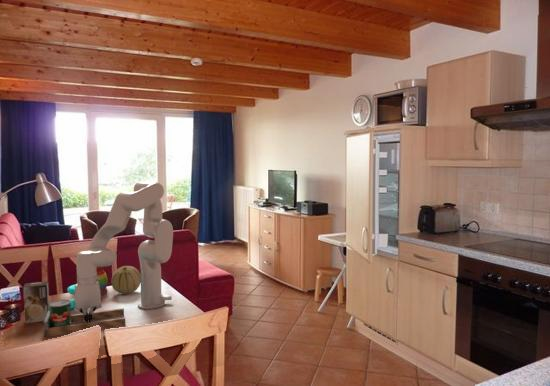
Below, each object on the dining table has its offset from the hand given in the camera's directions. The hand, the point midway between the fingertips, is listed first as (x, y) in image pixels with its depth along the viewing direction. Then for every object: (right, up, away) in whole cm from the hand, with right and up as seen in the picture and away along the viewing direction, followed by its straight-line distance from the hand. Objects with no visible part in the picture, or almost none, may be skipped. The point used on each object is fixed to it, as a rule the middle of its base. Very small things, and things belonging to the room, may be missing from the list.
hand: (88, 322), depth 173 cm
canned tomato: (-10, -1, -4) cm, 11 cm away
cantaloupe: (+1, +2, +42) cm, 43 cm away
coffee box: (-25, -1, +6) cm, 25 cm away
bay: (-1, -1, 0) cm, 1 cm away
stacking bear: (-15, +2, +42) cm, 45 cm away
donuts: (-15, 0, +23) cm, 27 cm away
